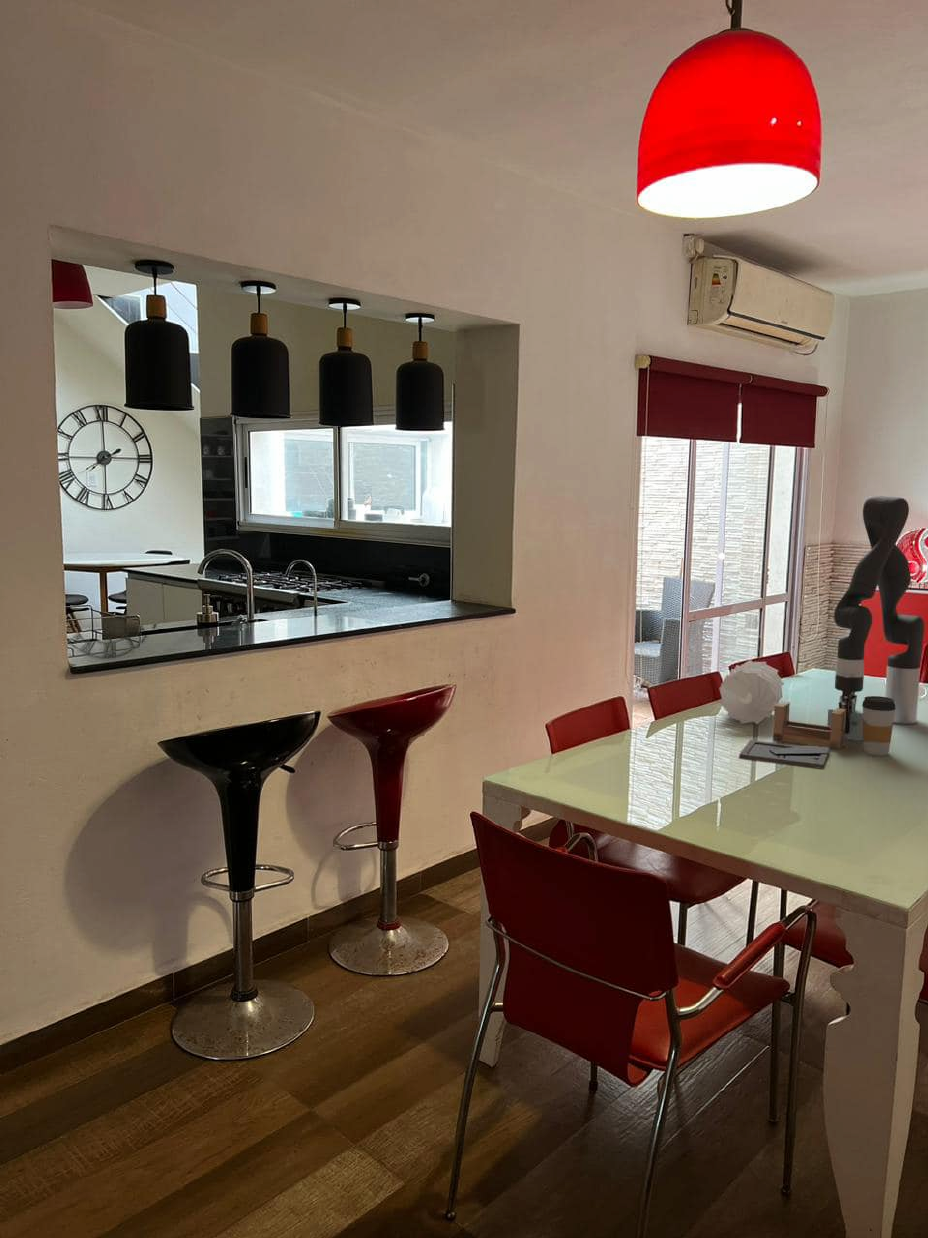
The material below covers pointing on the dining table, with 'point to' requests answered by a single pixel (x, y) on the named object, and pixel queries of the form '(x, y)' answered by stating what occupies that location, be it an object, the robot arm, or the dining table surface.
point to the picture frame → (785, 753)
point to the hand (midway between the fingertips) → (846, 731)
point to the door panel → (851, 724)
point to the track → (809, 728)
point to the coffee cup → (877, 724)
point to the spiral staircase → (751, 691)
